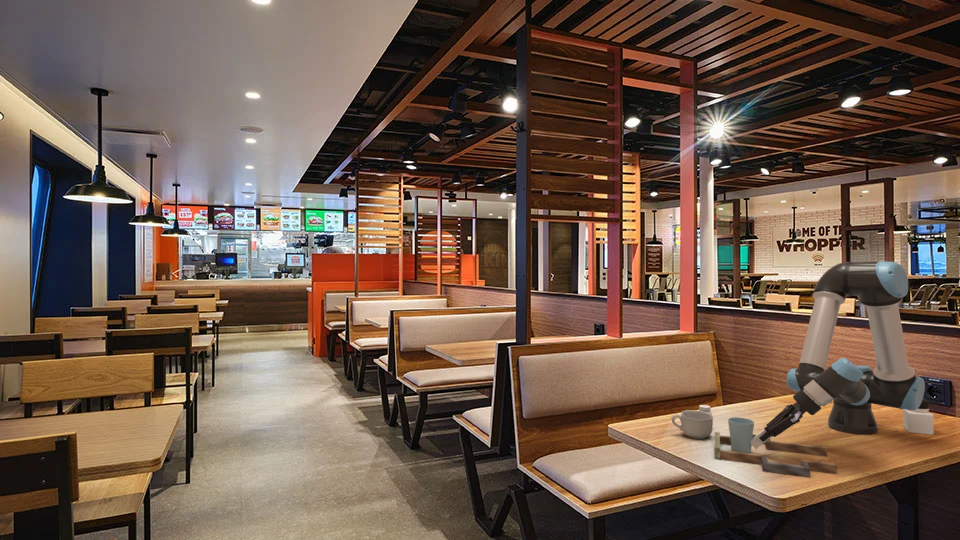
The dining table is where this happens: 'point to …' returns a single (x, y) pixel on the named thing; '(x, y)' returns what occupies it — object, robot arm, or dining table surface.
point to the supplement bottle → (705, 408)
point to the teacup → (695, 423)
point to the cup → (741, 434)
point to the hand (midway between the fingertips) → (752, 445)
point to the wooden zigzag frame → (778, 467)
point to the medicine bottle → (919, 419)
